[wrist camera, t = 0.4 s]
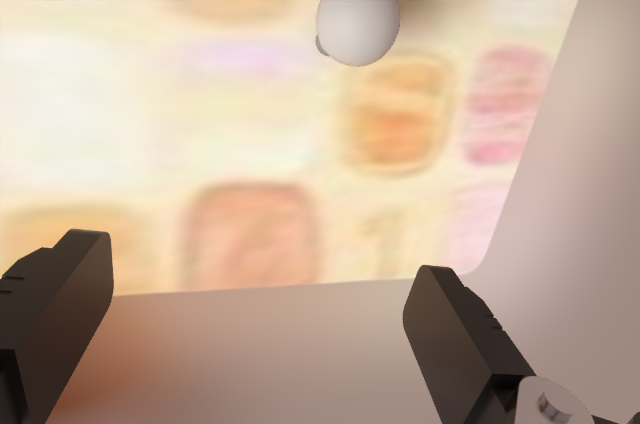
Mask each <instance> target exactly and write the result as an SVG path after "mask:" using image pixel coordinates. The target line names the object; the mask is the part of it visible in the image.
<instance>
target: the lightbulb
mask: <svg viewBox="0 0 640 424" xmlns="http://www.w3.org/2000/svg"><path fill="white" fill-rule="evenodd" d="M399 26H400V9H399V5H398V1H397V0H320V3H319V6H318V10H317V16H316V29H317V36H316V45H317V48H318V50H319V51H320V52H321V53H322V54H324V55H326V56H331V57H332V58H333V59H334V60H336V61H338V62H339V63H341V64H345V65H348V66H355V67H360V66H366V65H369V64H371V63H374V62H376V61H377V60H379V59H380V58H382V57H383V56H384V55H385V54H386V53H387V52H388V50H389V49H390V48H391V46H392V45H393V43H394V41H395V39H396V36H397V34H398V31H399Z"/></svg>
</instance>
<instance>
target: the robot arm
mask: <svg viewBox="0 0 640 424" xmlns="http://www.w3.org/2000/svg"><path fill="white" fill-rule="evenodd" d="M113 288H114V280H113V265H112V251H111V239H110V235H109V234H108V233H107V232H101V231H91V230H81V229H70V230H69V231H68V232H67V233H66V234H65V235H64V236H63V237H62V238H61V239H60V240H59V242H58V243H57V244H56V245H55V246H54V247H53V248H43V247H42V248H40V249H38V250H36V251H34V252H32V253H30V254H28V255H27V256H25V257H23V258H21V259H19V260H18V261H17V262H15V263H14V264H13V265H12V266H11V267H10V268H9V269H8V270H7V271H6V272H5V273H4V274H3V275H2V278H1V279H0V424H45V423H46V421H47V419H48V417H49V416H50V413H51V412H52V410H53V408H54V406H55V405H56V403H57V401H58V399H59V397H60V396H61V394H62V392H63V390H64V388H65V386H66V385H67V383H68V381H69V379H70V377H71V376H72V374H73V372H74V370H75V368H76V366H77V365H78V363H79V361H80V359H81V357H82V356H83V354H84V352H85V350H86V348H87V346H88V345H89V343H90V341H91V339H92V337H93V336H94V334H95V332H96V330H97V328H98V327H99V325H100V323H101V321H102V319H103V317H104V316H105V314H106V312H107V310H108V308H109V306H110V303H111V299H112V295H113ZM493 316H494V315H493V314H492V312H491V311H490V309H489V308H488V307H487V305H486V304H485V302H484V301H483V300H482V299H481V298H480V297H478V296H477V295H476V294H475V293H474V292H473V291H471V290H470V289H469V288H468V287H464V285H463V284H462V282H461V281H460V279H459V278H458V276H457V275H456V274H455V272H454V271H453V269H451V268H449V267H440V266H430V265H422V266H421V267H420V268H419V270H418V272H417V275H416V277H415V280H414V283H413V286H412V288H411V291H410V293H409V296H408V299H407V301H406V304H405V307H404V310H403V326H404V330H405V332H406V335H407V337H408V340H409V342H410V345H411V347H412V350H413V352H414V355H415V357H416V360H417V362H418V365H419V367H420V370H421V372H422V375H423V377H424V379H425V382H426V384H427V387H428V389H429V392H430V394H431V397H432V399H433V402H434V404H435V407H436V409H437V412H438V414H439V417H440V419H441V422H442V424H618V423H615V422H612V421H609V420H606V419H602V418H599V417H596V416H593V415H591V414H590V412H589V411H588V410H587V408H586V407H585V405H584V404H583V403H582V402H581V401H580V400H579V399H578V398H577V397H576V396H575V395H574V394H572V393H571V392H570V391H569V390H567V389H566V388H564V387H563V386H561V385H559V384H558V383H556V382H554V381H551V380H549V379H546V378H542V377H539V376H536V374H535V373H534V371H533V370H532V368H531V367H530V366H529V364H528V363H527V361H526V360H525V359H524V357H523V356H522V354H521V353H520V352H519V350H518V349H517V348H516V346H515V345H514V344H513V342H512V340H511V339H510V337H509V336H508V335H507V333H506V332H505V331H503V330H502V326H501V325H500V323H499V322H498V321H497V319H496V318H494V317H493ZM627 424H640V412H638V413H636V414H635V415H634V416H633V417H632V419H631V420H630V421H629V422H628V423H627Z"/></svg>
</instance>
